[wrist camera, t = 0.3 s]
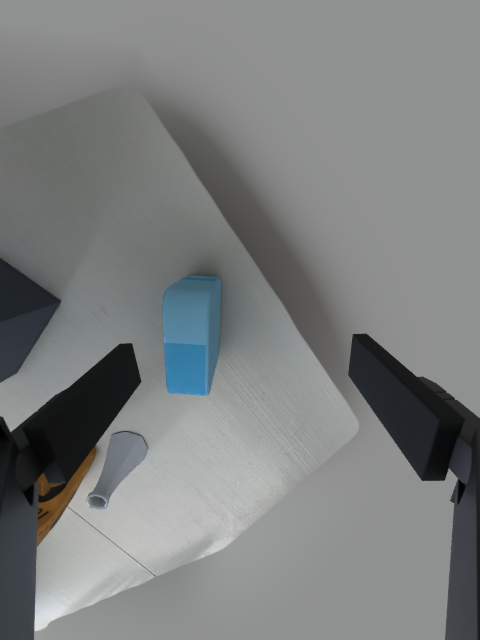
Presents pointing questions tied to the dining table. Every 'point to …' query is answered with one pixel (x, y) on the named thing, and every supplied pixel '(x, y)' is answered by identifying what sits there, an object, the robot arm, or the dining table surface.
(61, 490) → the coffee package
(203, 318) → the data package
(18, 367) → the dark grey open box
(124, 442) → the flask
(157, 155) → the dining table surface
